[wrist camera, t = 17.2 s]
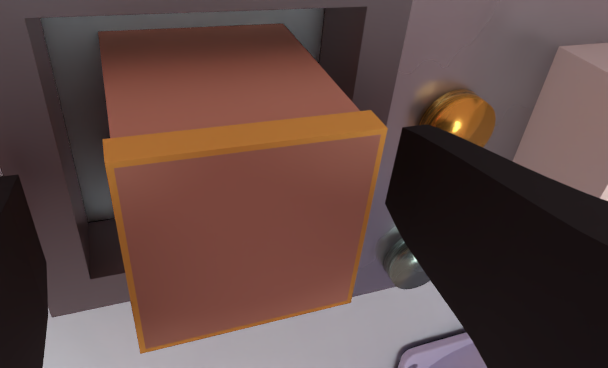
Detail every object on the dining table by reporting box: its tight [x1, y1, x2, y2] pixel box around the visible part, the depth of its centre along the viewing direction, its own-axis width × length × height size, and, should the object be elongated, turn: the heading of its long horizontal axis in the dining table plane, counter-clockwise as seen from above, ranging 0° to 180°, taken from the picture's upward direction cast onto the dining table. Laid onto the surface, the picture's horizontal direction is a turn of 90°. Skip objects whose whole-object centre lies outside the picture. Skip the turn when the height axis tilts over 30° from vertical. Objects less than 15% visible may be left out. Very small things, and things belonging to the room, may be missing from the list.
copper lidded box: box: [98, 24, 388, 354], centre depth 10 cm, size 4×4×5 cm
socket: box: [0, 0, 413, 317], centre depth 11 cm, size 8×8×2 cm
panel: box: [352, 0, 608, 297], centre depth 16 cm, size 12×14×2 cm
